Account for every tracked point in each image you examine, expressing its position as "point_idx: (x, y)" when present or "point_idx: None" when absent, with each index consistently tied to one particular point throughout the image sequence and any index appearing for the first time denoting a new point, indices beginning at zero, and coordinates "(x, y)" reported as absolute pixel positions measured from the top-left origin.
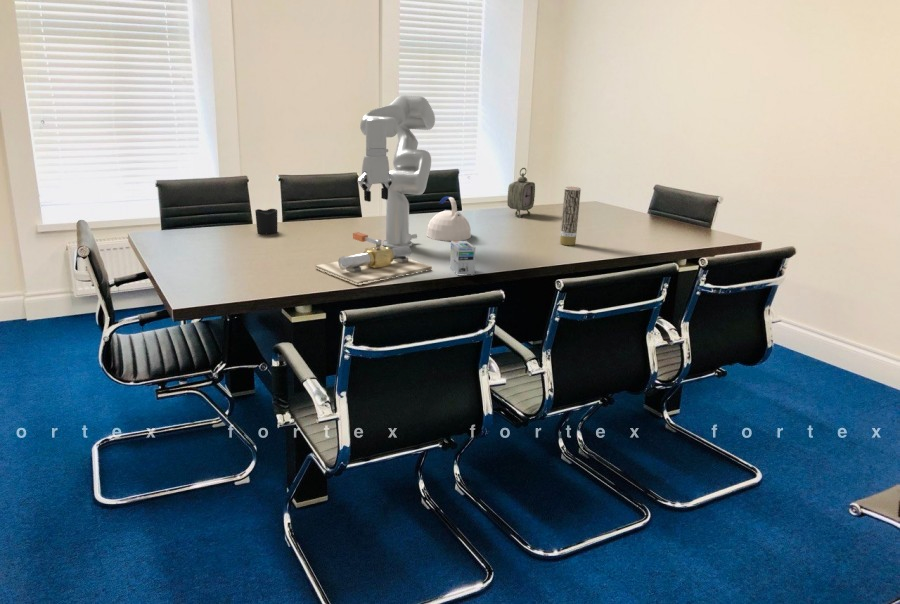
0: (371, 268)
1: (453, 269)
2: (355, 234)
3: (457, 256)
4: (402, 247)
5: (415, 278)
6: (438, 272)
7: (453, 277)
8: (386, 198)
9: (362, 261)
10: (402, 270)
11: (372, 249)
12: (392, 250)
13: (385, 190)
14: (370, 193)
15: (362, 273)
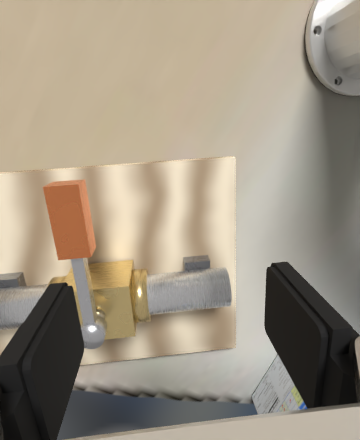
0: None
1: (269, 374)
2: (48, 207)
3: None
4: (204, 304)
5: (153, 373)
6: (233, 359)
7: (234, 400)
8: (271, 334)
9: None
10: (144, 345)
11: None
12: (156, 312)
13: (306, 394)
14: (54, 426)
15: None
